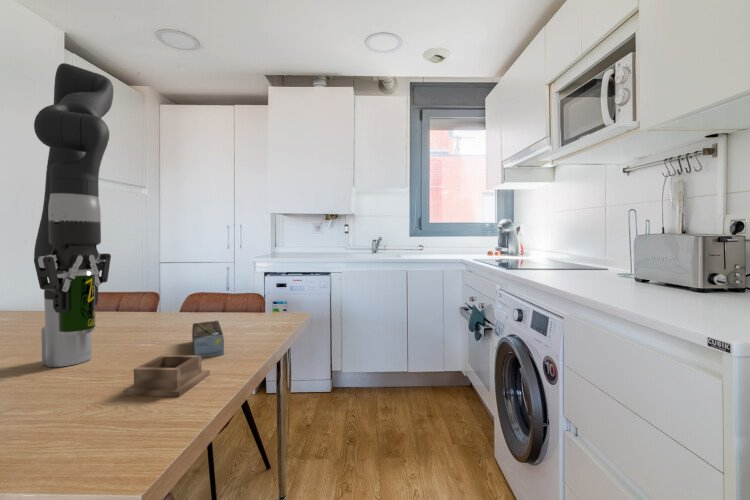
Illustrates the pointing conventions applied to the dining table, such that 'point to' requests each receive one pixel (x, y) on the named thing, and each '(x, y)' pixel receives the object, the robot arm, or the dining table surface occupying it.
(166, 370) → the walnut holder
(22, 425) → the dining table surface
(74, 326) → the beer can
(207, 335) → the beverage carton
